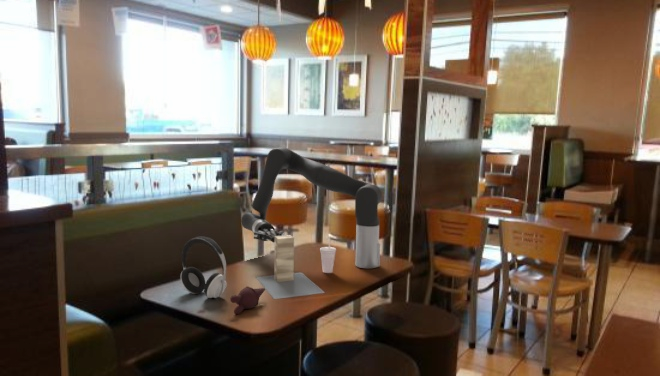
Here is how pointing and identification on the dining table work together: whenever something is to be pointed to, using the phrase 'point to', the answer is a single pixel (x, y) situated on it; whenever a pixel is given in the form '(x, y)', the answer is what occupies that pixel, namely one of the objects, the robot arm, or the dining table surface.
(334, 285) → the dining table surface
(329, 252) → the smoothie
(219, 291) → the headphones
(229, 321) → the dining table surface
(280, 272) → the birch block
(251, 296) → the maroon rounded piece
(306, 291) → the mat
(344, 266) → the dining table surface
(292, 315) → the dining table surface
